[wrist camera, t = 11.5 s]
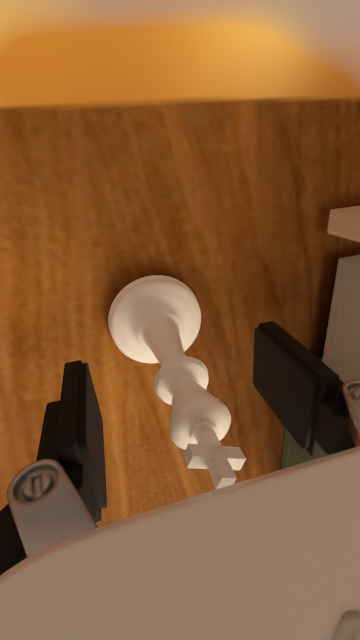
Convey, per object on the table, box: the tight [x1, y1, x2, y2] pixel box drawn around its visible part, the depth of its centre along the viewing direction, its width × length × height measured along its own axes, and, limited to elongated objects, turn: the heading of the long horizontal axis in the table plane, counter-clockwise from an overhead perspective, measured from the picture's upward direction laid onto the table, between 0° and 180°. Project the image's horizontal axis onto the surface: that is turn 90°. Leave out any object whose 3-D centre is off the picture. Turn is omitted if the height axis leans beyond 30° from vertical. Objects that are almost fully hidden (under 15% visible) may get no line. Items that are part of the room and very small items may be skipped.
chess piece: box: [108, 275, 246, 489], centre depth 12 cm, size 5×5×10 cm
